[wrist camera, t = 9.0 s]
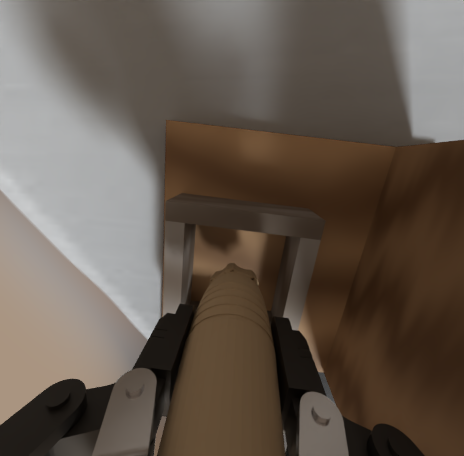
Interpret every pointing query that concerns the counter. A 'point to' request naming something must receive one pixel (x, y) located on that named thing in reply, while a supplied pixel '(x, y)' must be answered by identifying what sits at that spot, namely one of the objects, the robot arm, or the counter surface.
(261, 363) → the handle
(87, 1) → the counter surface
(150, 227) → the counter surface
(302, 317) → the board
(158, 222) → the counter surface
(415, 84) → the counter surface
